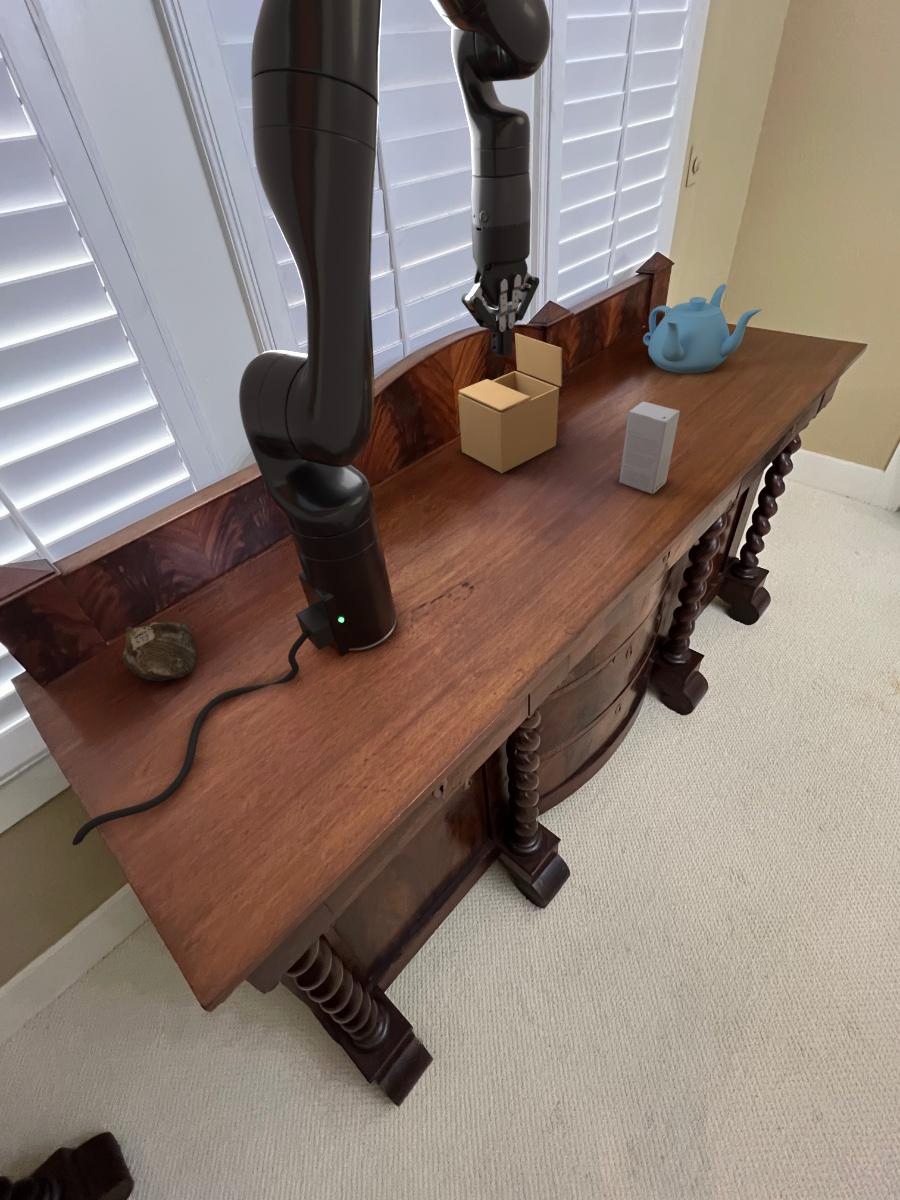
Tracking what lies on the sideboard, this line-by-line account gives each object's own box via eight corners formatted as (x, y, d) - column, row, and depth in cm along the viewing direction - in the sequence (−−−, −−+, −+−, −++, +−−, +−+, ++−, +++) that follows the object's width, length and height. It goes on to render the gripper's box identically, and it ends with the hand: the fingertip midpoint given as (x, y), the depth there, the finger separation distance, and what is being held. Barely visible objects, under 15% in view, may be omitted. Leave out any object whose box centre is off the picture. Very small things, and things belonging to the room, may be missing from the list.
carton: (501, 473, 96) (500, 373, 85) (461, 451, 103) (455, 356, 91) (558, 444, 102) (564, 347, 91) (517, 425, 108) (518, 332, 97)
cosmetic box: (666, 483, 91) (681, 410, 83) (652, 495, 89) (666, 422, 81) (631, 471, 94) (643, 399, 86) (617, 482, 92) (627, 410, 84)
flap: (501, 411, 89) (501, 409, 89) (458, 392, 95) (458, 390, 95) (530, 398, 92) (530, 396, 92) (487, 380, 98) (487, 378, 98)
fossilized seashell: (118, 631, 72) (119, 699, 66) (127, 595, 68) (129, 664, 62) (184, 634, 76) (190, 698, 70) (196, 600, 72) (203, 665, 67)
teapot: (748, 372, 117) (766, 307, 109) (657, 383, 117) (669, 318, 108) (711, 342, 130) (725, 281, 121) (629, 352, 129) (637, 291, 121)
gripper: (518, 205, 79) (516, 337, 91) (442, 223, 74) (451, 362, 85) (558, 210, 75) (551, 348, 87) (481, 230, 69) (485, 375, 81)
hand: (501, 355), depth 86 cm, fingers closed
